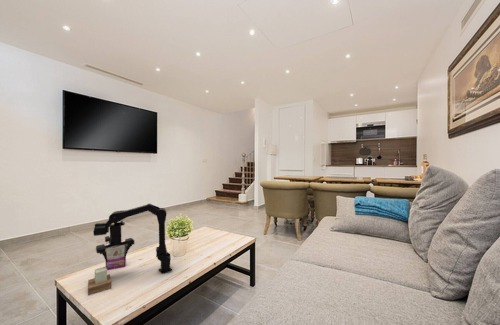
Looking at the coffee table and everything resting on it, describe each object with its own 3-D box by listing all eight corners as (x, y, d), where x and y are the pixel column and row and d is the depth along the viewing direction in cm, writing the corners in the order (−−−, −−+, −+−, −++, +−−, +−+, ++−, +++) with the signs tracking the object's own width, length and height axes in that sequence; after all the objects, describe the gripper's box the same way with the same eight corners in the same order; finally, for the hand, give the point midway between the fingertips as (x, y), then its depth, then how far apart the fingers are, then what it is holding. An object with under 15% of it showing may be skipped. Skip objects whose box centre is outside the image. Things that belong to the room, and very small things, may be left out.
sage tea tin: (106, 280, 114) (107, 269, 114) (95, 284, 111) (95, 273, 111) (105, 277, 118) (105, 266, 118) (94, 280, 114) (94, 269, 114)
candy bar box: (126, 263, 142) (126, 239, 142) (125, 266, 137) (125, 241, 137) (106, 267, 136) (106, 242, 137) (105, 270, 132) (105, 244, 132)
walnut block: (111, 289, 113) (111, 281, 113) (88, 296, 107) (88, 288, 107) (109, 281, 121) (109, 274, 121) (88, 287, 115) (88, 279, 115)
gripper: (129, 226, 135) (130, 250, 135) (94, 233, 122) (94, 260, 122) (134, 230, 127) (134, 256, 127) (97, 238, 114) (97, 266, 114)
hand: (115, 259), depth 123 cm, fingers open, 9 cm apart
